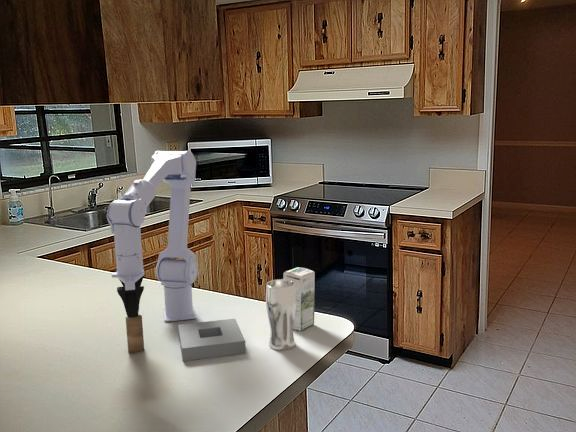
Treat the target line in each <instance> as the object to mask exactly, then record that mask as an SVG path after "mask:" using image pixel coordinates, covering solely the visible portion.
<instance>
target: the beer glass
mask: <svg viewBox="0 0 576 432" xmlns="http://www.w3.org/2000/svg"><path fill="white" fill-rule="evenodd" d="M265 290H266V291H265V307H266V314H267V317H268V324H269V329H270V330H269V331H270V334H269V335H270V337H269V341H268V342H269V343H268V346H269V347H270V349H273V350H276V351H288V350H291V349H293V348H294V347H295V346H296V341H295V336H294V329H293V324H294V318H295V312H296V290H295V282H294V281H291V280H287V279H283V278H281V279H280V278H279V279H278V278H277V279H272V280H270V281H267V283H266V289H265Z"/></svg>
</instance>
